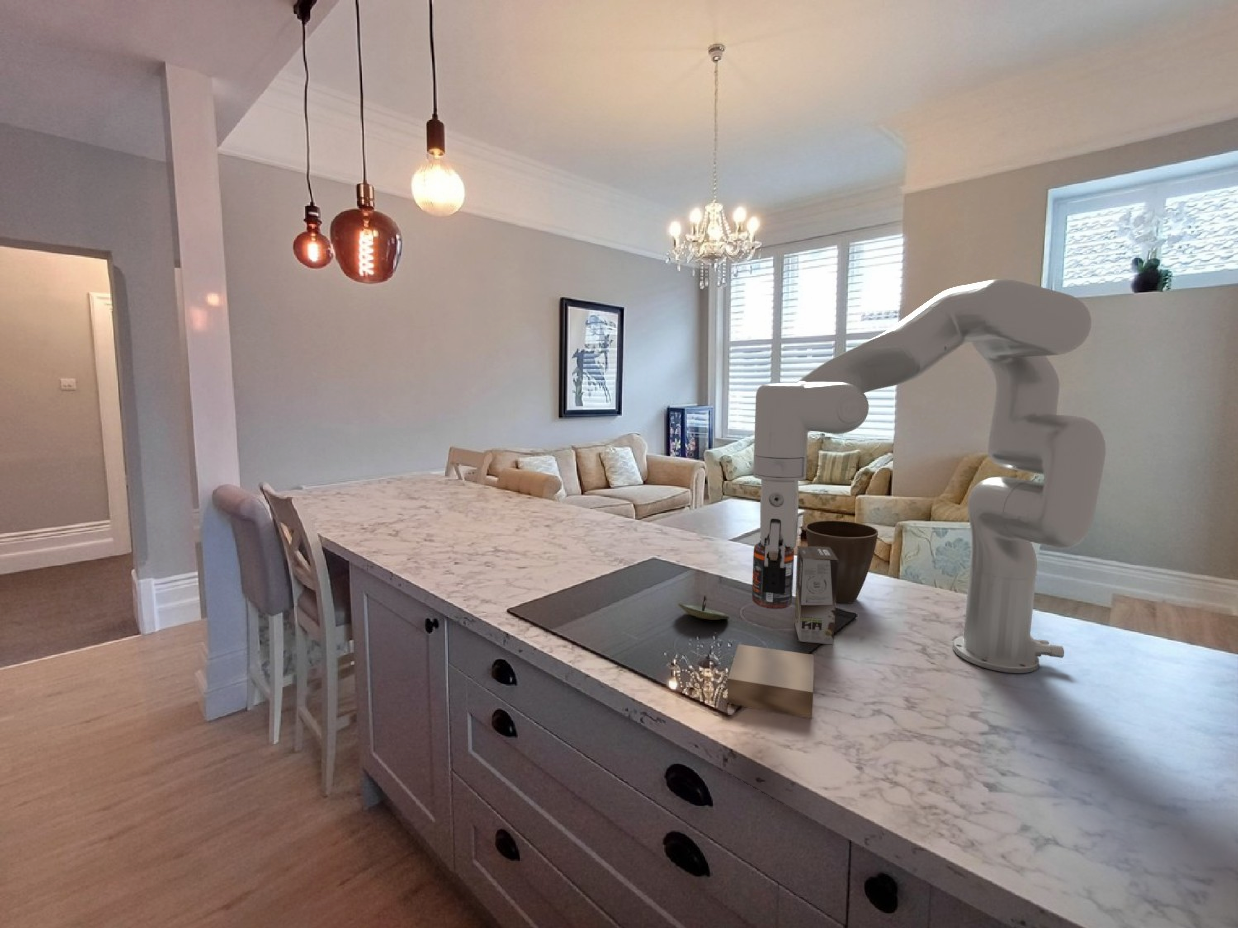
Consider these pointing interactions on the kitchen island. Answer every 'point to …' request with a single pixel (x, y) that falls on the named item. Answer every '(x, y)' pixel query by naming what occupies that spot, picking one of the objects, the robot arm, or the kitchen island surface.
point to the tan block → (772, 680)
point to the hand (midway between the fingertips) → (775, 583)
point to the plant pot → (846, 553)
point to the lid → (703, 611)
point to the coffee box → (815, 594)
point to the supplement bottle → (757, 593)
